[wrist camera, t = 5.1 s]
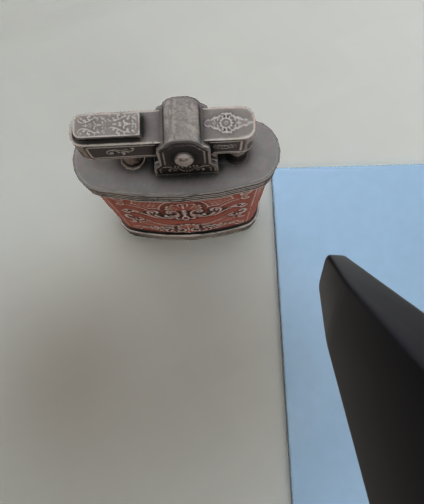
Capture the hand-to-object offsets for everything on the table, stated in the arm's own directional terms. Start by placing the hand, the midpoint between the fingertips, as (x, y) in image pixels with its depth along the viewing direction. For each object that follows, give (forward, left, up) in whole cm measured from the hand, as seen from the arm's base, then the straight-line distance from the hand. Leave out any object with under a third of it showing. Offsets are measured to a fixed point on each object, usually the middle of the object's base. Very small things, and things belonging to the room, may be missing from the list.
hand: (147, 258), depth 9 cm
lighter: (0, +5, -12) cm, 13 cm away
